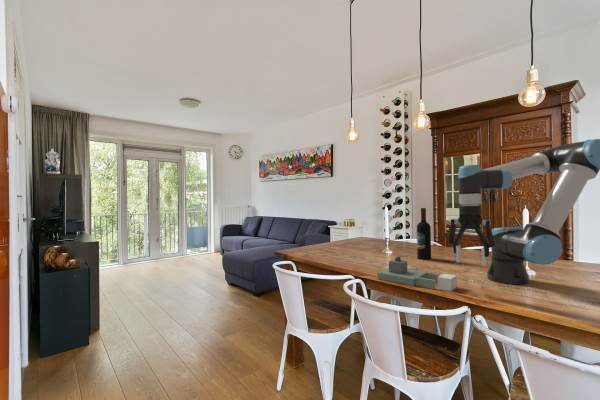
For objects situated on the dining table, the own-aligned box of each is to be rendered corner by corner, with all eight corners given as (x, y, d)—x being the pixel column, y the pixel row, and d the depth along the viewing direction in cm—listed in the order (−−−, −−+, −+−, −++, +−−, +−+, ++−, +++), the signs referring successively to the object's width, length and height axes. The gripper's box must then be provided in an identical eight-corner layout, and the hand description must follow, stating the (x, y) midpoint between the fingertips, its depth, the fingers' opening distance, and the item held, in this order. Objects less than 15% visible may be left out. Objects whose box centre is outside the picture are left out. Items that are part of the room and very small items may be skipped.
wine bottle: (432, 260, 173) (431, 208, 173) (418, 259, 175) (417, 208, 174) (429, 257, 181) (428, 207, 180) (416, 257, 182) (415, 207, 182)
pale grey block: (457, 287, 123) (456, 275, 123) (450, 291, 118) (450, 279, 118) (444, 285, 127) (444, 273, 127) (437, 288, 122) (437, 276, 122)
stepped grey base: (445, 282, 130) (445, 259, 130) (433, 290, 120) (432, 265, 120) (392, 272, 148) (392, 252, 148) (377, 278, 138) (377, 257, 138)
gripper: (504, 204, 111) (505, 265, 112) (445, 204, 126) (446, 258, 127) (499, 205, 106) (500, 269, 106) (438, 205, 121) (439, 261, 121)
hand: (471, 263), depth 116 cm, fingers open, 8 cm apart
